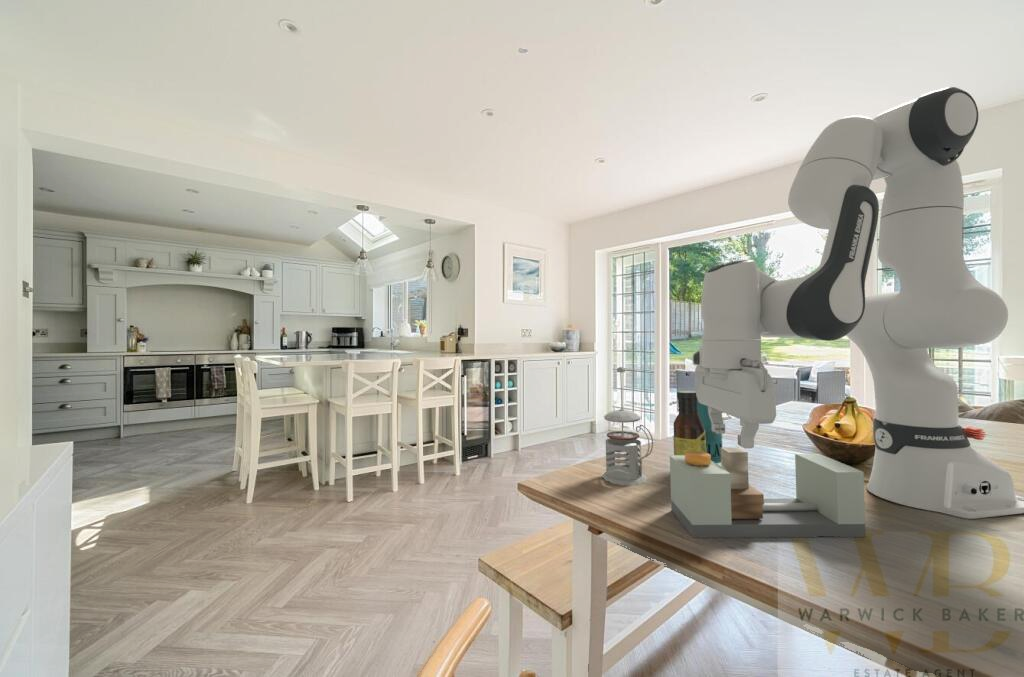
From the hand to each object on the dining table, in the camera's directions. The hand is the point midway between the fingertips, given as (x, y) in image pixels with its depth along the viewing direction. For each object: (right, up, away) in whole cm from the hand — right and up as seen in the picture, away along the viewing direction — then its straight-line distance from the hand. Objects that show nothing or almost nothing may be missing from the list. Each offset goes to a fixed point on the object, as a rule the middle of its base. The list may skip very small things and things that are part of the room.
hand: (731, 439), depth 68 cm
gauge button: (-5, -9, 0) cm, 10 cm away
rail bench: (+5, -14, 0) cm, 15 cm away
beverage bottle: (+10, -14, +30) cm, 34 cm away
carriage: (+1, -12, 0) cm, 12 cm away
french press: (-11, -15, +23) cm, 29 cm away
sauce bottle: (+1, -14, +17) cm, 22 cm away
